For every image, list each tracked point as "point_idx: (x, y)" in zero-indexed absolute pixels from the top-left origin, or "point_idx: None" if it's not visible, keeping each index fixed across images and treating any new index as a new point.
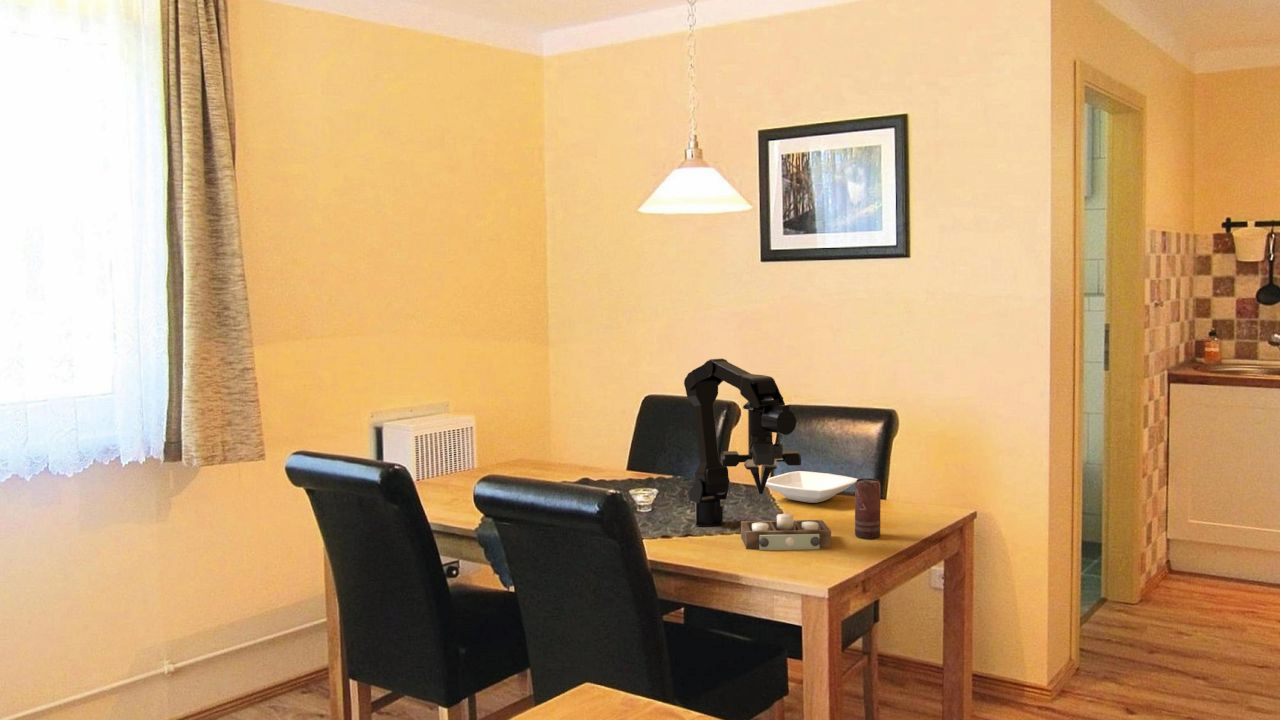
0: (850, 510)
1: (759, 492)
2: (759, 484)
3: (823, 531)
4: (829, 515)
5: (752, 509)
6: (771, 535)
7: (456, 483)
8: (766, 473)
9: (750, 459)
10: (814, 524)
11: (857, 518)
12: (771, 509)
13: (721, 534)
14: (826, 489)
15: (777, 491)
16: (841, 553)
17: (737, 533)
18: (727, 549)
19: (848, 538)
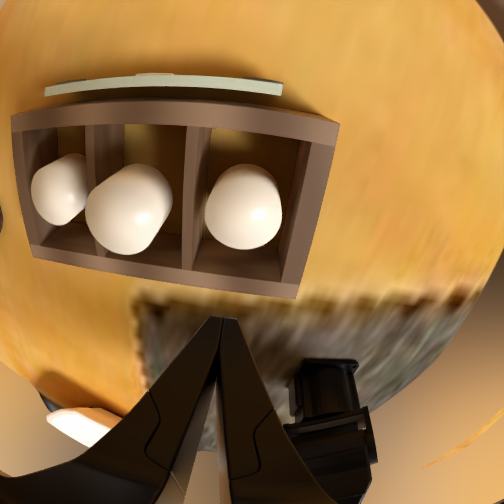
0: (48, 368)
1: (234, 323)
2: (230, 377)
3: (28, 112)
4: (69, 360)
5: None
6: (226, 77)
7: (453, 450)
8: (125, 469)
9: None
10: (40, 180)
11: None
12: None
13: (334, 301)
14: (68, 411)
15: None
16: (38, 45)
17: (286, 302)
18: (387, 133)
19: (12, 198)
